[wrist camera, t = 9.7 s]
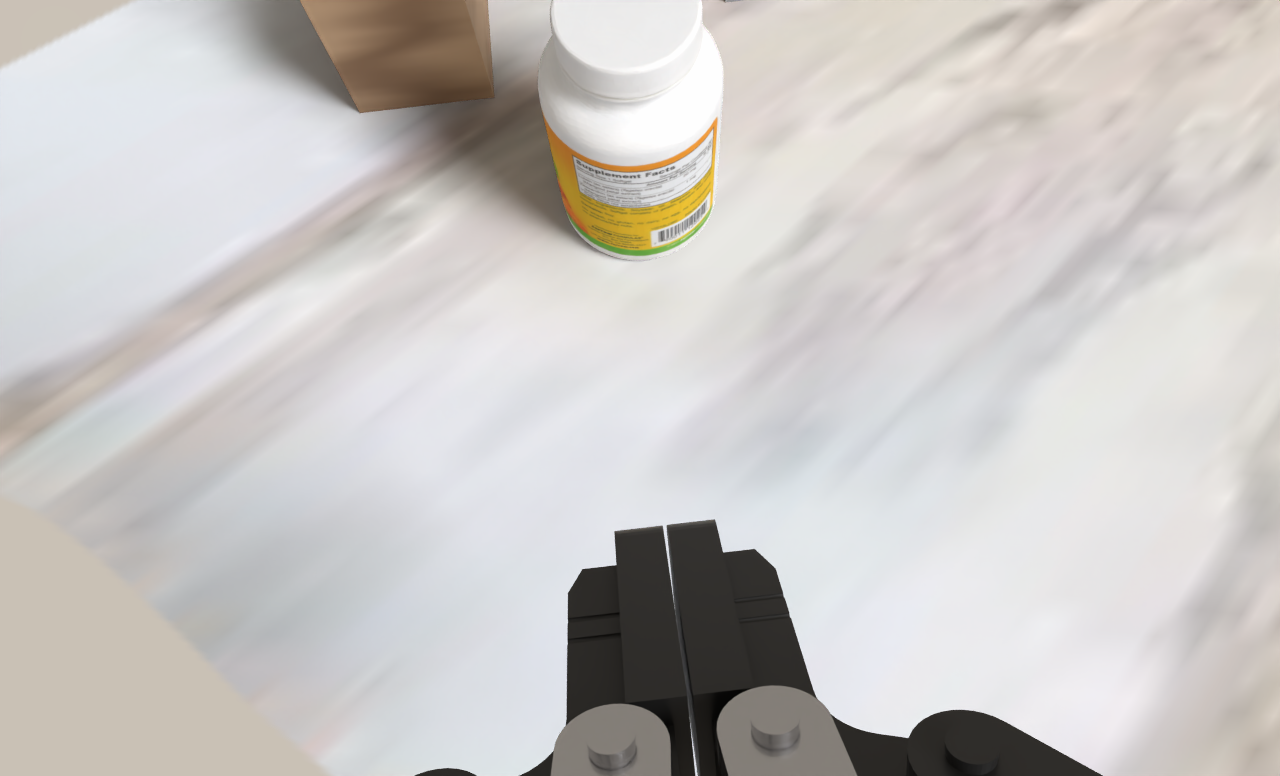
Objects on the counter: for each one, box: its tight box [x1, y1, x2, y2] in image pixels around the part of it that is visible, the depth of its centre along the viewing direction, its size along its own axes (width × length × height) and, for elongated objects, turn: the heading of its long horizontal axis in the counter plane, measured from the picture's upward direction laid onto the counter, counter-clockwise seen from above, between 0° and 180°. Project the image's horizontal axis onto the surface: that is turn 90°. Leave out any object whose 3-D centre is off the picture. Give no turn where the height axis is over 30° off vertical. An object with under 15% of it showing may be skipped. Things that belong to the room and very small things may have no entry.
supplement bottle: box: [538, 0, 723, 260], centre depth 30 cm, size 5×5×10 cm
